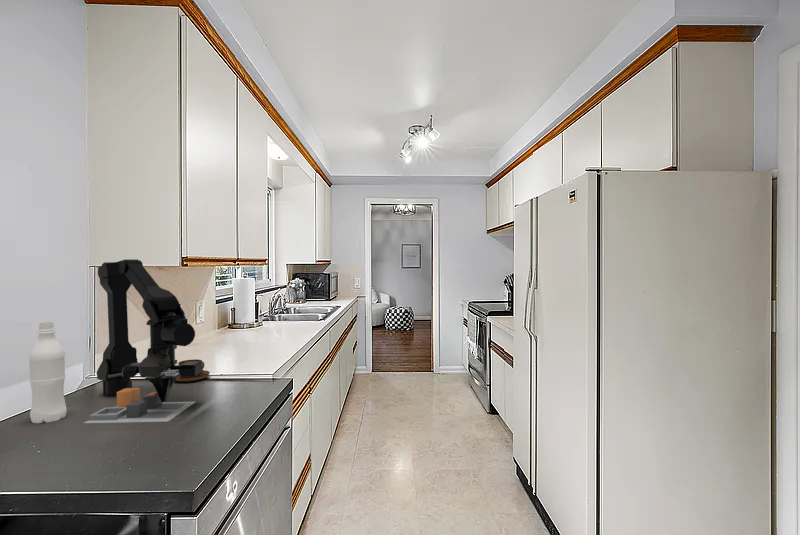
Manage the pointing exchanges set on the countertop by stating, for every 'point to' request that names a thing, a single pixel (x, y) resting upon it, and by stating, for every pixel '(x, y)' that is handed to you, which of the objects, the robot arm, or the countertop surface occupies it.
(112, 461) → the countertop surface
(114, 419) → the panel
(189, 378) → the cup and saucer
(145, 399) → the block
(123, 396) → the cap
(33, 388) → the water bottle
